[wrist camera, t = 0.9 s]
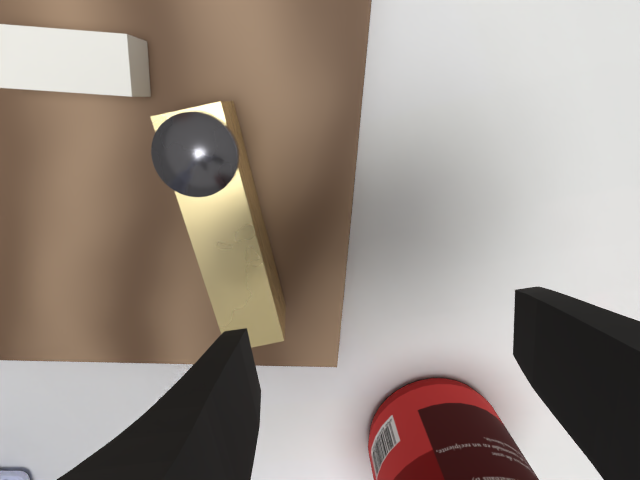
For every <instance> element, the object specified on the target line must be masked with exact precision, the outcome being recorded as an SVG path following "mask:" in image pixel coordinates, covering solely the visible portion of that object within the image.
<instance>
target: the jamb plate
mask: <svg viewBox="0 0 640 480" xmlns="http://www.w3.org/2000/svg"><path fill="white" fill-rule="evenodd" d="M370 11H371V0H0V24H6V25H19V26H32V27H45V28H57V29H70V30H83V31H96V32H108V33H121V34H128V35H131V36H134V37H137V38H139V39H142V40H145V41H147V46H148V61H149V76H150V92H151V97H129V96H114V95H99V94H85V93H70V92H55V91H40V90H25V89H11V88H0V360H21V361H69V362H117V363H164V364H195V363H196V362H197V361H198V359H199V358H200V357H201V356H202V355H203V354H204V353H205V352H206V351H207V349H208V348H209V347H210V346H211V345H212V344H213V343H214V342H215V340H216V339H217V338H218V337H219V336H220V335H221V332H220V329H219V326H218V323H217V320H216V316H215V313H214V310H213V307H212V304H211V301H210V298H209V295H208V292H207V289H206V286H205V283H204V280H203V277H202V274H201V270H200V267H199V264H198V261H197V258H196V255H195V252H194V249H193V246H192V243H191V240H190V237H189V234H188V231H187V228H186V224H185V221H184V218H183V215H182V212H181V209H180V206H179V203H178V200H177V197H176V194H175V191H174V190H173V189H171V188H170V187H169V186H167V185H166V184H165V183H164V182H163V181H162V179H161V178H160V177H159V175H158V173H157V172H156V170H155V167H154V165H153V161H152V156H151V146H152V140H153V137H154V135H155V129H154V126H153V123H152V120H151V117H150V116H155V115H160V114H164V113H169V112H174V111H179V110H183V109H188V108H193V107H198V106H202V105H207V104H212V103H217V102H223V101H234V105H235V109H236V113H237V117H238V121H239V125H240V128H241V132H242V136H243V140H244V144H245V148H246V152H247V156H248V160H249V164H250V167H251V171H252V175H253V179H254V183H255V187H256V191H257V195H258V199H259V203H260V206H261V210H262V214H263V218H264V222H265V226H266V230H267V234H268V238H269V242H270V245H271V249H272V253H273V257H274V261H275V265H276V269H277V273H278V277H279V281H280V285H281V288H282V292H283V296H284V300H285V304H286V315H285V336H284V341H282V342H277V343H272V344H267V345H262V346H257V347H252V348H251V349H252V353H253V358H254V362H255V365H260V366H308V367H337V361H338V351H339V340H340V329H341V319H342V308H343V298H344V287H345V276H346V266H347V255H348V244H349V234H350V223H351V213H352V202H353V191H354V181H355V170H356V160H357V149H358V138H359V128H360V117H361V106H362V96H363V85H364V75H365V64H366V53H367V43H368V32H369V22H370Z"/></svg>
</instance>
